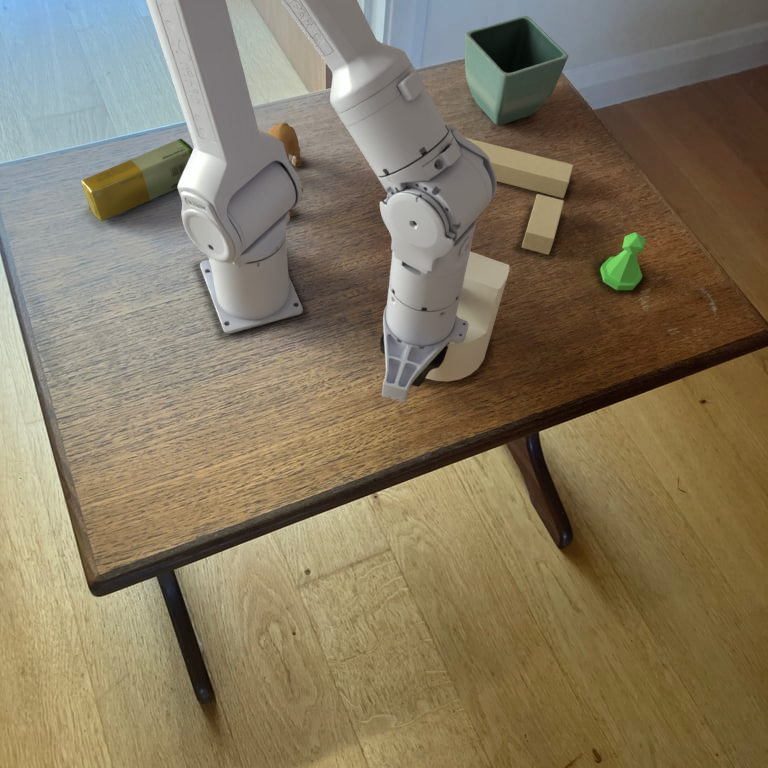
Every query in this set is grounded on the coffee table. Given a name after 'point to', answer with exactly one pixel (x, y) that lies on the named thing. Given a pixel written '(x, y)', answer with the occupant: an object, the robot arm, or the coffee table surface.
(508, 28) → the flower pot
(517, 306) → the coffee table surface
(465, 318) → the base with upright slab
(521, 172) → the bay
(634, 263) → the game piece
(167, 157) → the medication box
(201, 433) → the coffee table surface
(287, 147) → the lion figurine
